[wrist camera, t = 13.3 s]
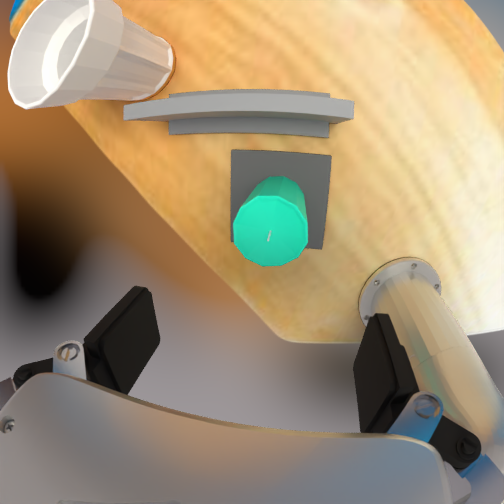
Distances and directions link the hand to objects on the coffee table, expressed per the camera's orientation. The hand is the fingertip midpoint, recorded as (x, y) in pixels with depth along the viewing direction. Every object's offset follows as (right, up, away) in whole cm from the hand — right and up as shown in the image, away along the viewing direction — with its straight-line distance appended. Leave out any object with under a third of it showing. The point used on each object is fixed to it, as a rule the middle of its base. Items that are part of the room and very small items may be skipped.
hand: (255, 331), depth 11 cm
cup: (-14, +26, +16) cm, 34 cm away
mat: (+3, +9, +20) cm, 23 cm away
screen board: (-1, +19, +17) cm, 25 cm away
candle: (+3, +9, +20) cm, 22 cm away
